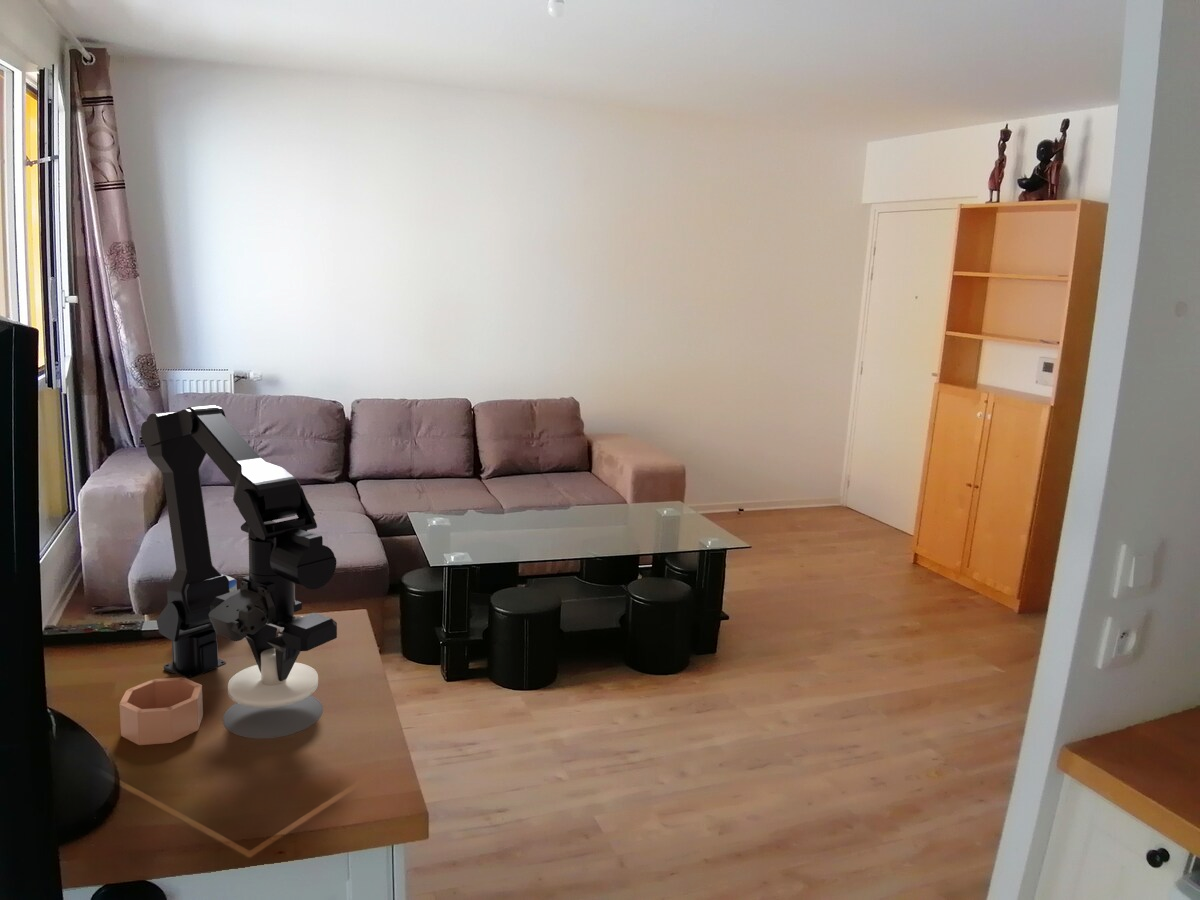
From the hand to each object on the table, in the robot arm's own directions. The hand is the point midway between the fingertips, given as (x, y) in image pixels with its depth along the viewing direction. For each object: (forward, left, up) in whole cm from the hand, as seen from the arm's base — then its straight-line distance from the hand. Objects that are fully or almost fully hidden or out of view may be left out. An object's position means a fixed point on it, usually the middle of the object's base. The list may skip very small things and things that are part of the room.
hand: (273, 676), depth 120 cm
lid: (0, 0, -2) cm, 2 cm away
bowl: (-9, -11, -6) cm, 15 cm away
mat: (0, 0, -6) cm, 6 cm away
